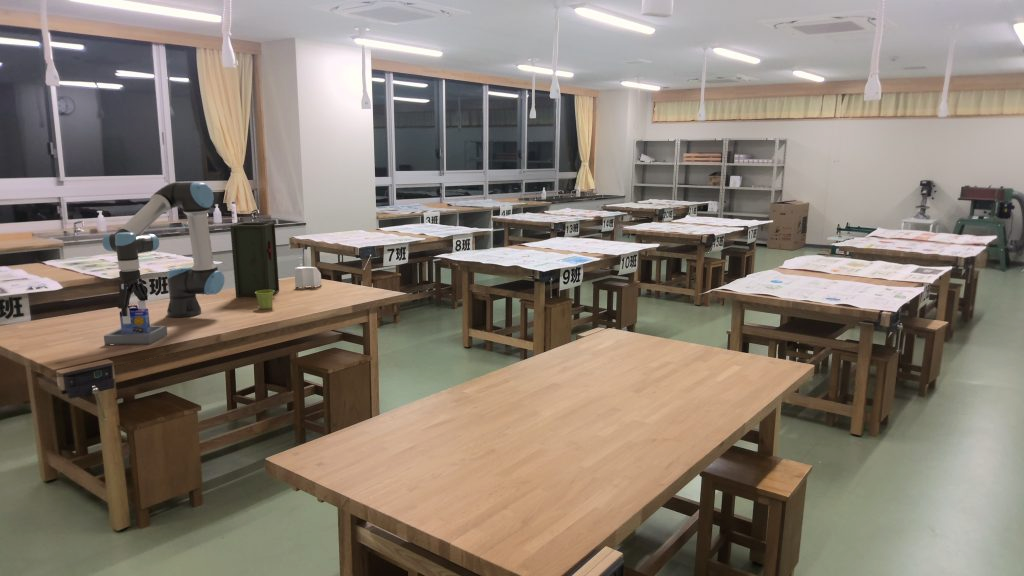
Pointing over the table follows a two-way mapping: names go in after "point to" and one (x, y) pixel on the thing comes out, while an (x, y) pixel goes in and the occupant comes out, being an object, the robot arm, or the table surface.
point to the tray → (135, 337)
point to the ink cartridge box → (136, 322)
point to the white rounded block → (307, 276)
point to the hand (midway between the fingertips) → (135, 319)
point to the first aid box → (254, 258)
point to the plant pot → (265, 298)
